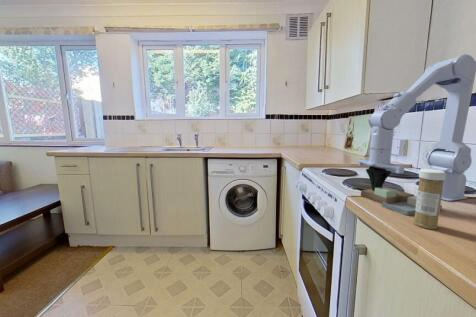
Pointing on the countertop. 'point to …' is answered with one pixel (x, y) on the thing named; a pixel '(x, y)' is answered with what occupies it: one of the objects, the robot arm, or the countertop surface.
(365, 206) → the countertop surface
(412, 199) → the cream tile
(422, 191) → the sprinkles bottle
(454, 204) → the countertop surface
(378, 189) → the green tile
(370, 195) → the walnut board
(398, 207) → the tray
